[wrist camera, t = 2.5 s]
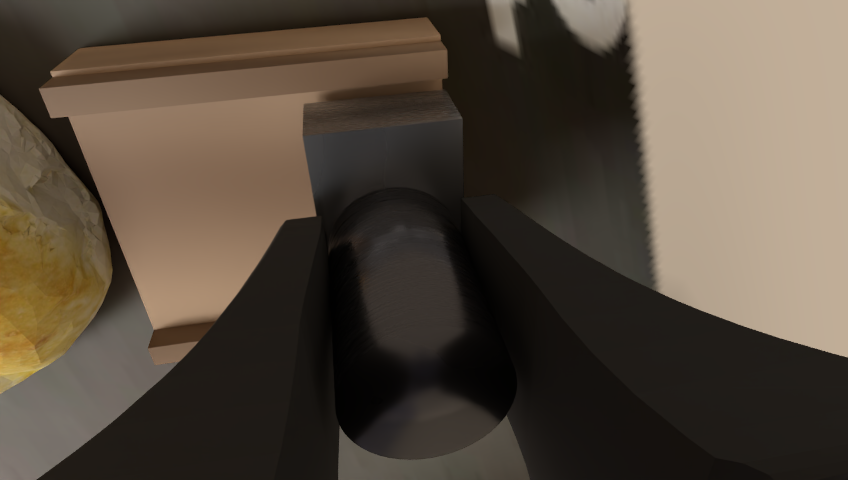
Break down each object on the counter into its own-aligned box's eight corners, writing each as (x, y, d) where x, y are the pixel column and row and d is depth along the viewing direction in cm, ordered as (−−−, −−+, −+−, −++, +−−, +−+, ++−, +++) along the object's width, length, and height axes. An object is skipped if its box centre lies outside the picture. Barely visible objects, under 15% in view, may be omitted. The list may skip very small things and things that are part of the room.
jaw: (451, 286, 13) (517, 488, 9) (337, 301, 13) (349, 518, 9) (445, 89, 11) (533, 239, 6) (303, 104, 11) (298, 270, 6)
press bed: (438, 272, 15) (454, 324, 14) (174, 308, 15) (156, 368, 13) (427, 17, 12) (446, 44, 10) (79, 47, 11) (36, 82, 9)
